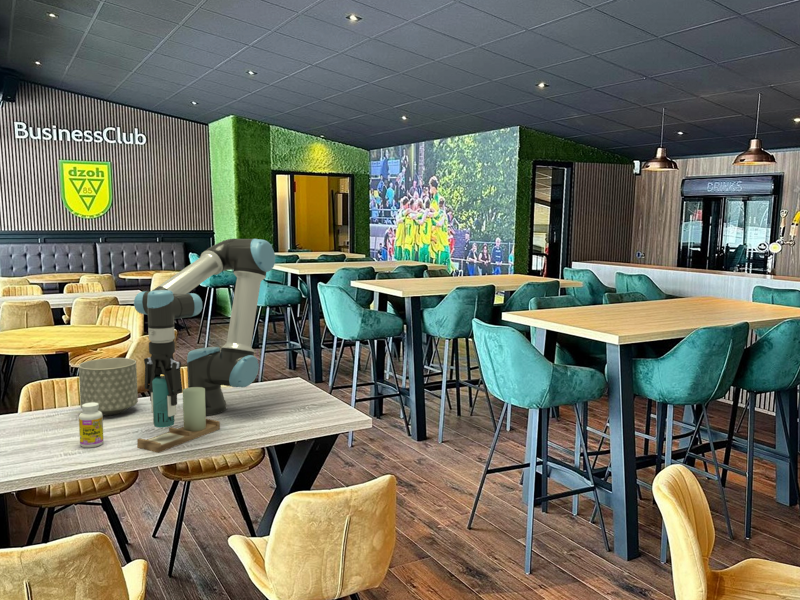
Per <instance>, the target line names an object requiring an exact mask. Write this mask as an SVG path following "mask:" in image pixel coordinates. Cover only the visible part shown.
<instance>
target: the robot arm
mask: <svg viewBox="0 0 800 600" xmlns="http://www.w3.org/2000/svg"><path fill="white" fill-rule="evenodd" d="M275 263H276V255H275V251H274V249H273V246H272V244H271V243H270V242H269V241H267V240H266V239H260V238H259V239H258V238H228V239H224V240H222V241H220V242H217V243H215V244H214V245H212V246H210V247H208V248H207V249H205V250H204V251H203V252H201V254H200V257H199V258H198V259H196V260H194V262H191V264H189V265H187V266H186V267H184V268H183V269H181V270H180V271H179V272H177V273H176V274H174V275H173V276H172V277H170V278H169V279H167V280H166V281H164V282H162V283H161V284H159V285H158V286H156V287H155V288H153V289H152V290H150V291H148V290H146V291H140V292H138V293H137V294H136V295H135V297H134V299H133V306H134V308H135V311H136V312H137V313H139V314H142V315H147V328H148V330H147V331H148V340H149V341H148V353H149V354H150V355H151V356H150V357H146V358H144V359H143V363H144V389H145V390H148V392H149V399H150V400H149V401H150V404H151V406H150V407H151V414H153V386H152V381H153V380H154V379H155V378H156V377H158V376H165V380H166V383H167V387H168V391H169V395H168V396H167V402H168V416H169V417H170V416H173V415H175V416H176V415H177V405H178V395H179V394H183V383H182V372H181V369H182V368H181V367H182V361H180V360H179V361H177V360H175V358H174V353H175V352H176V350H175V349H176V341H174V340H175V338H176V337H175V335H176V334H175V320H179V319H185V318H192V317H196V316H198V315H199V314H200V313H201V312H202V309H203V301H202V298H201V297H200V295H199V294H197V293H194V292H193V293H192V292H191V291H192V290H194V289H196V288H197V287H198V286H199V285H200V284H202V283H203V282H205V281H206V280H207V279H209V278H210V277H212V276H213V275H219V274H220V273H222V272H225V271H229V270H230V271H231V270H233V275H234V276H235V277H236V281H235V288H234V295H233V301H232V307H231V313H230V319H229V325H228V326H229V327H228V332H227V337H226V342H225V344H224V345H222V346H220V347H221V348H220V347H219V346H209V347H201V348H197V349H192V350H190V351H189V352H188V353H187V358H186V371H187V372H186V373H187V388H190V387H202V388H205V409H206V416H211V415H212V416H213V415H217V414H220V413H222V412H223V413H224V412H225V411H226V410H227V401H226V400H225V397H224V394H223V390H222V386H225V387H232V388H247V387H249V386H250V385H251V384H252V383H254V381H255V379H256V378H257V376H258V373H259V368H260V366H259V365H260V364H259V360H258V358H257V357H255V351H254V349H253V348H252V340H253V334H254V327H255V320H256V317H257V316H256V315H257V307H258V302H259V296H260V288H261V282H262V281H263V280H265V279H266V277H267V272H270V271H272V270H273V268H274V267H275ZM190 292H191V293H190ZM156 367H161V370H162V374H155V371H156ZM167 370H169V371H167Z"/></svg>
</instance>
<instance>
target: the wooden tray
mask: <svg viewBox="0 0 800 600" xmlns="http://www.w3.org/2000/svg"><path fill="white" fill-rule="evenodd" d="M220 424H221V423H220V420H215V419H211V418H206V428H205V429H204V430H201V431H194V432H191V431H187V430H184V426H180V427H178V428H177V427H173V426H170V427H168V432H164V433H162V434H159V435H156V436H153V437H151V438H147V439H145V438H141V437H140V438H137V441H136V442H137V448H138V449H141V450H146V451H150V452H154V453H161V452H164V451H166V450H169V449H171V448H174V447H177V446H180V445H182V444H184V443H187V442H191V441H193V440H195V439H197V438H200V437H203V436H206V435H209V434H210V433H213V432H216V431H218V430H220V429H221V427H220V426H221V425H220Z"/></svg>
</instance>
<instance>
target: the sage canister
mask: <svg viewBox="0 0 800 600" xmlns="http://www.w3.org/2000/svg"><path fill="white" fill-rule="evenodd" d="M182 411H183V412H182V415H183V427H184V430H187V431H191V432H194V431H201V430H204V429H205V428H206V419H207V417H206V416H207V415H206V409H205V388H202V387H190V388H188V387H187V388H182Z"/></svg>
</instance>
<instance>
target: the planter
mask: <svg viewBox="0 0 800 600" xmlns="http://www.w3.org/2000/svg"><path fill="white" fill-rule="evenodd" d="M137 373H138V372H137V360H136V359H133V358H128V357H108V358H97V359H90V360H86V361H83V362H81V363H79V365H78V380H79V384H78V385H79V396H80V397H79V402H80V403H79V404H80V409H81V410H82V405H83V404H85V403H92V402H95V403H98V404H99V408H98V411H101V412H102V415H103V416H112V415H113V414H114V415H118V414H120V413H123V412H124V411H126V410H128V409H129V408H131V407H134V406H136V405H137V404H138V401H139V398H138V394H139V393H138V377H137V375H138V374H137ZM114 415H113V416H114Z"/></svg>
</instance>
